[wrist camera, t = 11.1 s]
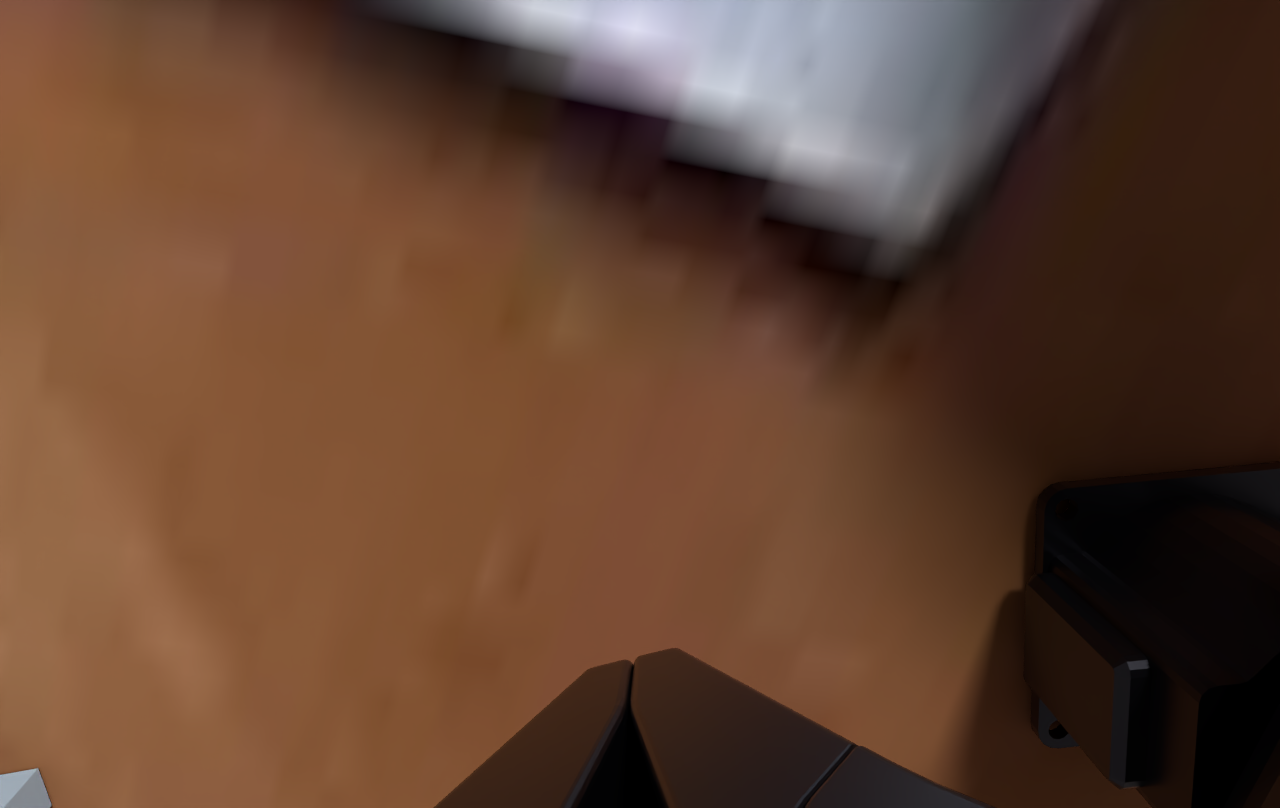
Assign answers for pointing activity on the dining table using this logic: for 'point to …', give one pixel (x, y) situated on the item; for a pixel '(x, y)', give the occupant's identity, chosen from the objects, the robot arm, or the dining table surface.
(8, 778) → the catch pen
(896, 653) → the dining table surface
